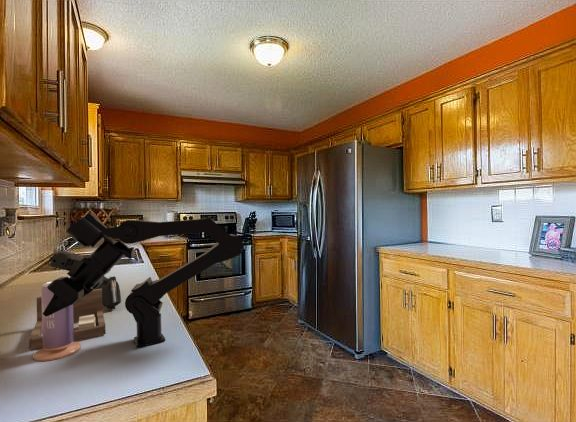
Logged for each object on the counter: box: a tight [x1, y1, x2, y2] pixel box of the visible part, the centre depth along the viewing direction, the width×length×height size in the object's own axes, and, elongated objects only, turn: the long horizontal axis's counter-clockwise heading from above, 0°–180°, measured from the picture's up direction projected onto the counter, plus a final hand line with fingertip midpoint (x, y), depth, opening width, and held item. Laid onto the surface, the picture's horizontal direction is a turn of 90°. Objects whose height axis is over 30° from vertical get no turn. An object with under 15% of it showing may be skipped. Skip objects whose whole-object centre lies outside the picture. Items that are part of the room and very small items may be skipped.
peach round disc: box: [32, 341, 82, 362], centre depth 73 cm, size 9×9×1 cm
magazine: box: [92, 275, 122, 310], centre depth 116 cm, size 17×3×30 cm
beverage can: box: [40, 280, 75, 351], centre depth 73 cm, size 6×6×15 cm
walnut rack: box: [28, 289, 107, 351], centre depth 86 cm, size 18×16×9 cm
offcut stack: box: [77, 314, 97, 329], centre depth 87 cm, size 10×4×4 cm, turn 32°
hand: (51, 311), depth 73 cm, fingers closed on beverage can, 6 cm apart
